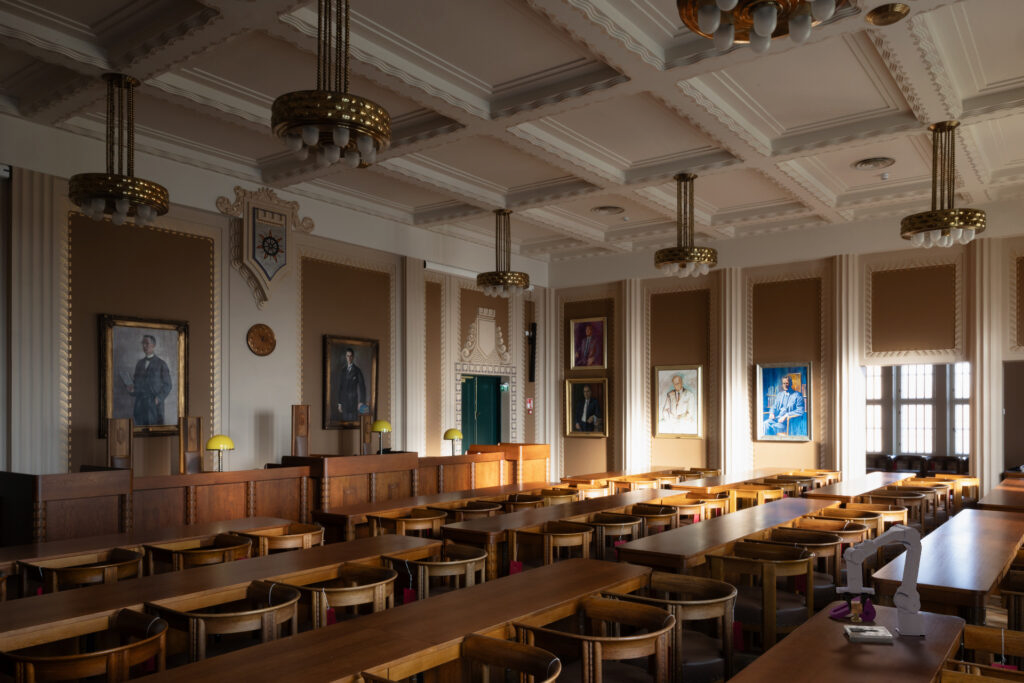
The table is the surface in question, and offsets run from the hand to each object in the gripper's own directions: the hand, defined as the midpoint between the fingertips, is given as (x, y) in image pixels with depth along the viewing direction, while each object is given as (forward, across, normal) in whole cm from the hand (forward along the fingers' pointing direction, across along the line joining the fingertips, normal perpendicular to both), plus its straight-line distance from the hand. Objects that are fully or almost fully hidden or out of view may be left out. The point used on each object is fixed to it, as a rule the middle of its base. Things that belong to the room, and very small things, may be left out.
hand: (856, 610), depth 324 cm
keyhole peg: (+4, 0, 0) cm, 4 cm away
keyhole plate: (+10, -4, +1) cm, 11 cm away
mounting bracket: (+11, -3, -26) cm, 29 cm away
